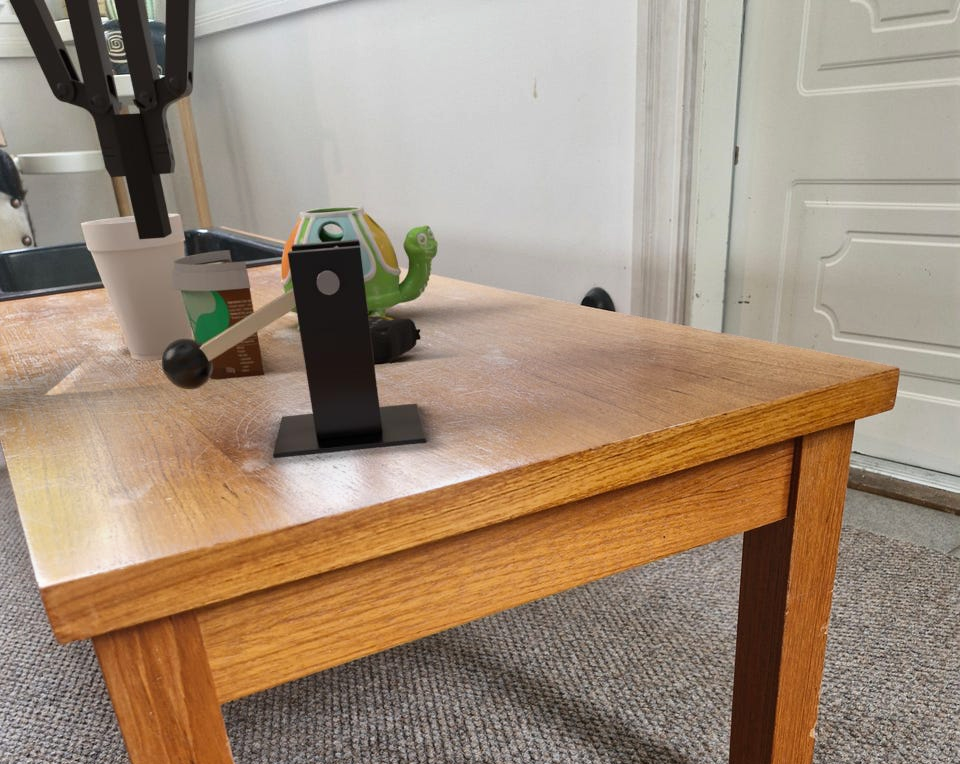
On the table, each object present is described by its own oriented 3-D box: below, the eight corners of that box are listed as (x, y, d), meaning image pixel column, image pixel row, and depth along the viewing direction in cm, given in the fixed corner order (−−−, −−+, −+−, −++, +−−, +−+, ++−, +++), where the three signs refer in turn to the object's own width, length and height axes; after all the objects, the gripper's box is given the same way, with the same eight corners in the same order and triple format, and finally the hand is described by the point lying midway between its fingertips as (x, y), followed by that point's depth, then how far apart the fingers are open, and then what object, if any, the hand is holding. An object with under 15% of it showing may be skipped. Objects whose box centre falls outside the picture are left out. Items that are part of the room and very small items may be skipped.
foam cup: (97, 364, 92) (60, 226, 86) (147, 344, 100) (116, 216, 94) (179, 363, 90) (147, 221, 84) (223, 343, 98) (197, 212, 91)
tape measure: (391, 372, 81) (386, 329, 79) (325, 370, 83) (319, 328, 81) (422, 355, 86) (419, 314, 84) (360, 353, 89) (355, 313, 87)
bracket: (275, 471, 59) (237, 261, 52) (284, 432, 66) (251, 245, 60) (427, 455, 59) (407, 246, 53) (418, 418, 67) (400, 232, 61)
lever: (178, 403, 59) (146, 360, 57) (186, 391, 61) (156, 350, 60) (361, 291, 57) (333, 243, 55) (360, 284, 59) (334, 238, 58)
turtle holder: (449, 322, 100) (440, 204, 94) (285, 337, 98) (265, 218, 92) (438, 304, 111) (429, 197, 105) (290, 318, 109) (273, 209, 103)
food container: (186, 364, 90) (162, 256, 85) (248, 355, 91) (228, 249, 86) (198, 391, 79) (171, 270, 74) (267, 380, 81) (246, 261, 76)
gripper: (-135, -326, 40) (28, 251, 51) (166, -331, 41) (257, 235, 53) (-67, -263, 46) (64, 237, 58) (190, -268, 47) (267, 223, 59)
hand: (155, 235), depth 55 cm, fingers closed
